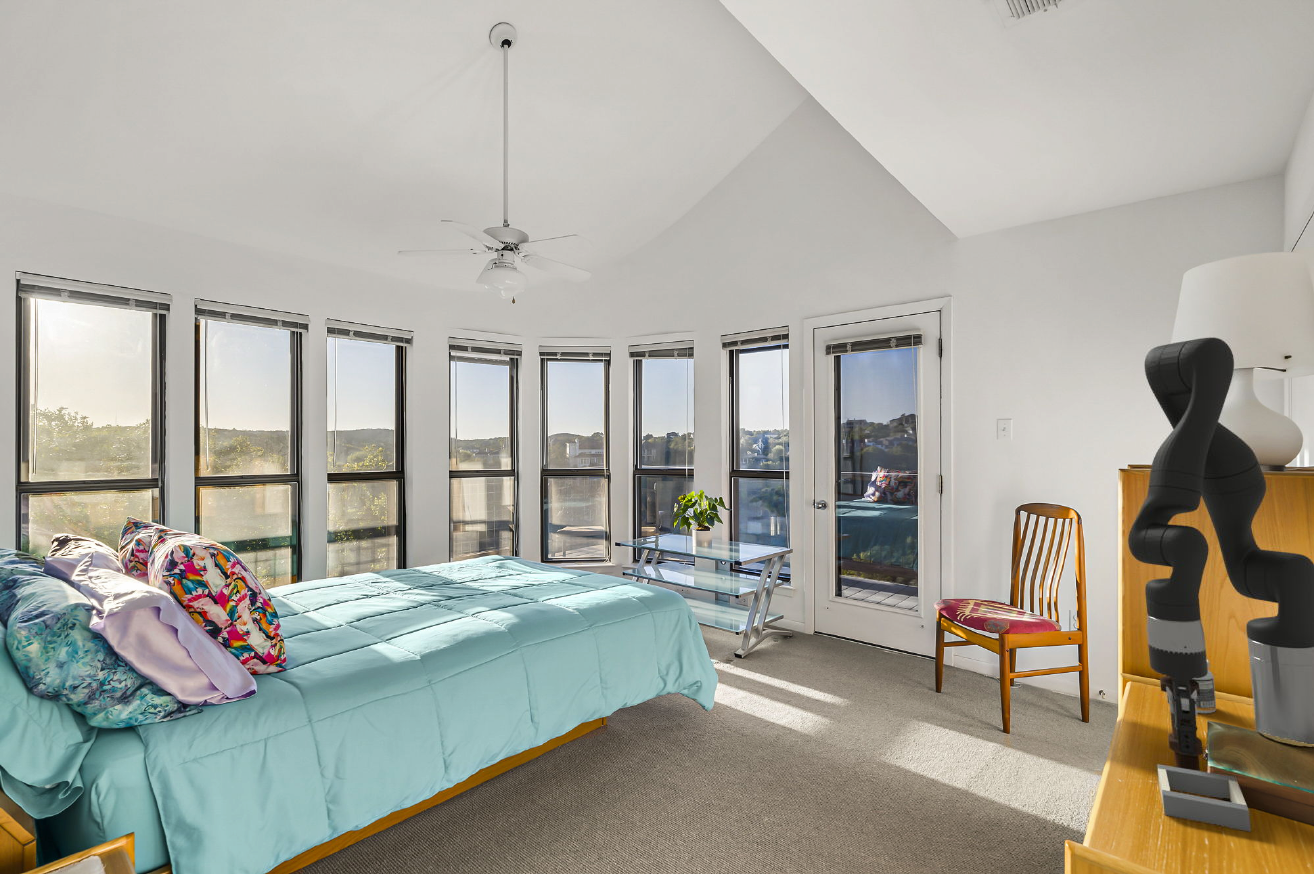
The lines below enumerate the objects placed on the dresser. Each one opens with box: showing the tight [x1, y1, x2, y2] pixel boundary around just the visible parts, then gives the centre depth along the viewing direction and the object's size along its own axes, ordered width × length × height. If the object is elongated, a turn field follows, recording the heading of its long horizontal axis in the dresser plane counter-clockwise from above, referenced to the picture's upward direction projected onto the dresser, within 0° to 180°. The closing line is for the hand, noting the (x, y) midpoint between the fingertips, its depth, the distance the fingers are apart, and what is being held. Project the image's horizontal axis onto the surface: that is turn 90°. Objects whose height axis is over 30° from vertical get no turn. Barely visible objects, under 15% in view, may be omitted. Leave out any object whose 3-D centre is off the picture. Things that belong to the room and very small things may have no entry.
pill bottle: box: [1192, 659, 1217, 714], centre depth 129 cm, size 6×6×10 cm
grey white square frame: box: [1156, 763, 1252, 833], centre depth 98 cm, size 10×10×3 cm
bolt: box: [1159, 675, 1204, 771], centre depth 107 cm, size 6×5×15 cm
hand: (1185, 744), depth 107 cm, fingers closed on bolt, 4 cm apart
